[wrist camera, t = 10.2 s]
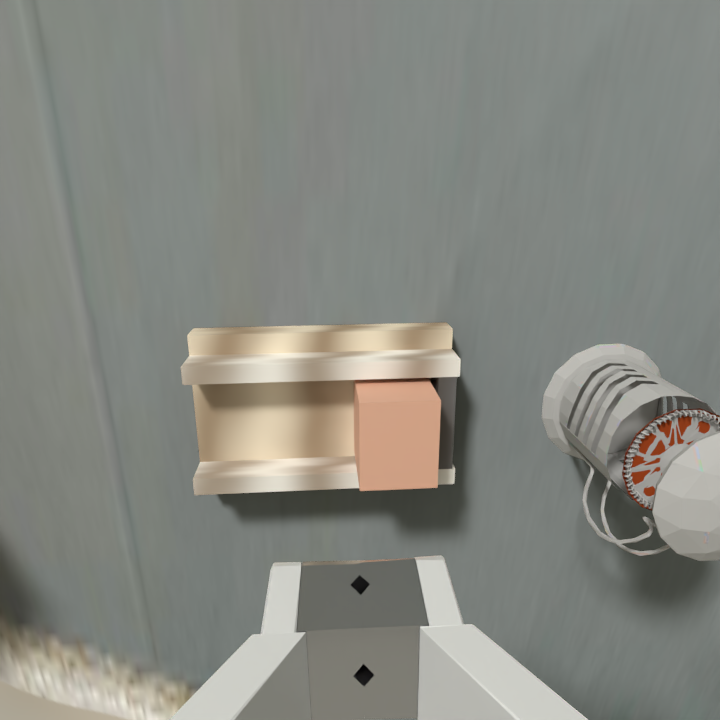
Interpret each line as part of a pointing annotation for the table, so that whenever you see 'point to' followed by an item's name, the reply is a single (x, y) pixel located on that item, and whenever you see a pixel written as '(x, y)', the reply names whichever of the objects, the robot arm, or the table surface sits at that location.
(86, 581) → the table surface
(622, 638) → the table surface
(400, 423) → the block
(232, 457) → the chute
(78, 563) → the table surface
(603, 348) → the french press
